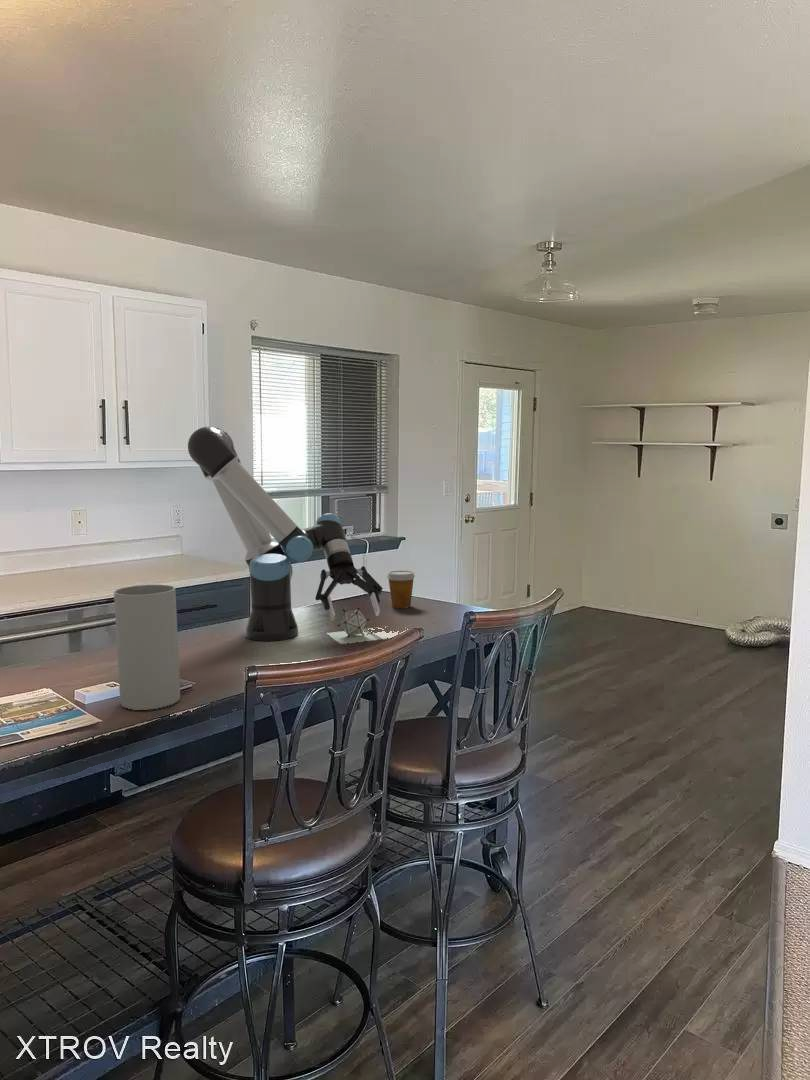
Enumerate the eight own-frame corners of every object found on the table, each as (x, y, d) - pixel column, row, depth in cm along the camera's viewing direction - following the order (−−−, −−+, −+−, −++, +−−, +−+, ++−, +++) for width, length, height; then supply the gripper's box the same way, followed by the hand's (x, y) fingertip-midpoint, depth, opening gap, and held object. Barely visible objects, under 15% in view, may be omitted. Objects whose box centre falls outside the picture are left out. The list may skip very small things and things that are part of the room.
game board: (340, 644, 219) (340, 643, 219) (325, 633, 232) (325, 633, 232) (418, 635, 228) (418, 635, 228) (400, 625, 241) (400, 625, 241)
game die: (359, 649, 227) (367, 626, 221) (331, 639, 227) (339, 616, 221) (366, 628, 234) (375, 605, 228) (340, 618, 234) (347, 595, 228)
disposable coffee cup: (419, 605, 272) (419, 571, 270) (407, 610, 263) (406, 575, 262) (395, 603, 276) (395, 569, 275) (382, 608, 268) (382, 573, 266)
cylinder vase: (191, 701, 171) (186, 588, 168) (139, 716, 162) (133, 597, 159) (161, 690, 179) (155, 582, 176) (109, 703, 170) (103, 590, 167)
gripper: (374, 562, 245) (393, 618, 233) (296, 568, 235) (311, 627, 223) (380, 547, 239) (399, 604, 227) (300, 552, 230) (316, 612, 218)
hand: (355, 615), depth 225 cm, fingers open, 13 cm apart
